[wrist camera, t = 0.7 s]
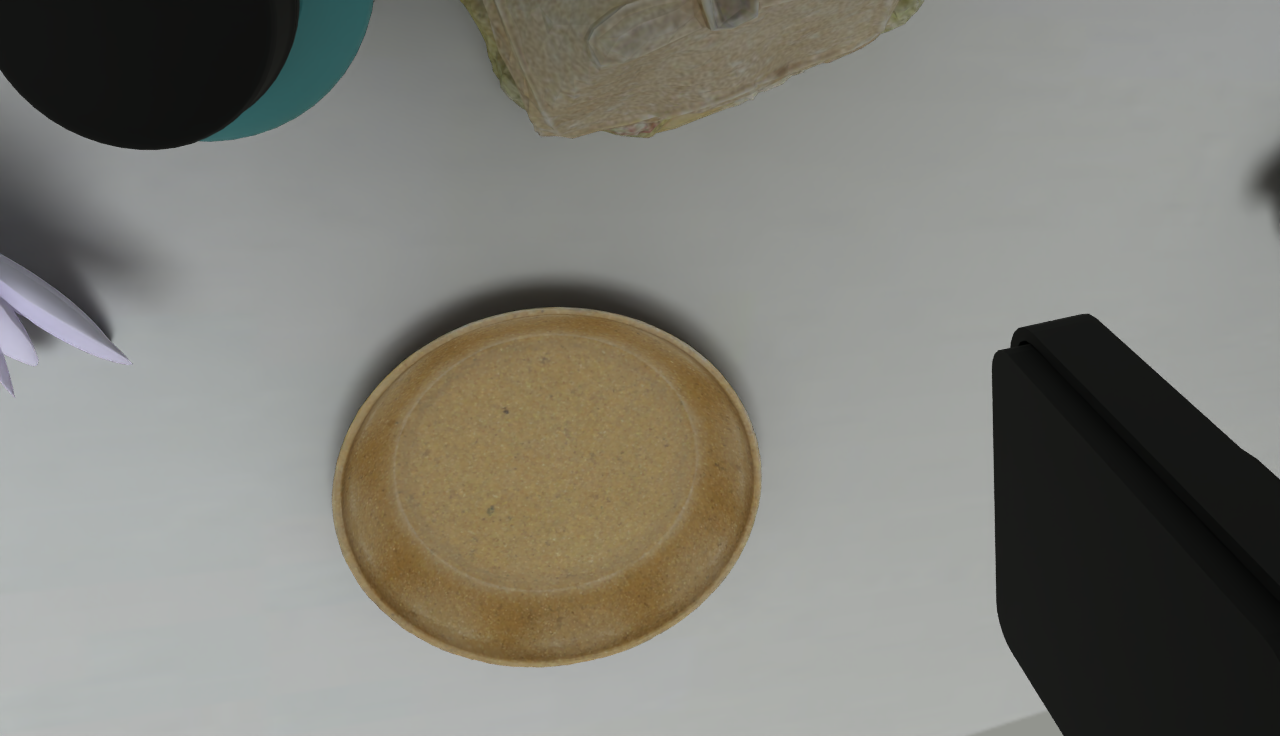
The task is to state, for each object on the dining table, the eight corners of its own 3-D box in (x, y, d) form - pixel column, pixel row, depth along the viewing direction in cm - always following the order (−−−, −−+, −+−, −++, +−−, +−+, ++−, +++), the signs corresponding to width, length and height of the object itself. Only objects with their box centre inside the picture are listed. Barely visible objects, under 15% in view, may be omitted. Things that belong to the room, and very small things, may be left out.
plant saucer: (597, 676, 49) (605, 722, 46) (261, 527, 43) (251, 571, 41) (824, 402, 44) (845, 438, 42) (482, 196, 39) (485, 224, 36)
